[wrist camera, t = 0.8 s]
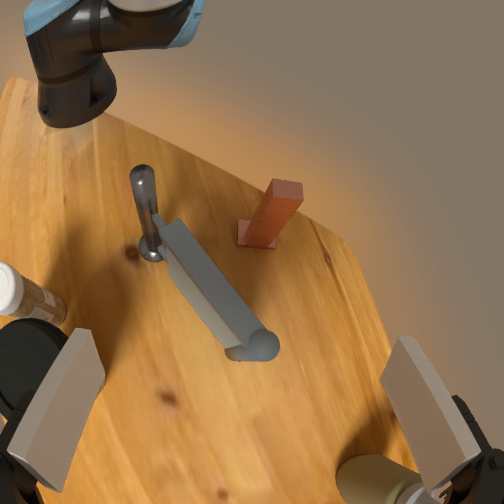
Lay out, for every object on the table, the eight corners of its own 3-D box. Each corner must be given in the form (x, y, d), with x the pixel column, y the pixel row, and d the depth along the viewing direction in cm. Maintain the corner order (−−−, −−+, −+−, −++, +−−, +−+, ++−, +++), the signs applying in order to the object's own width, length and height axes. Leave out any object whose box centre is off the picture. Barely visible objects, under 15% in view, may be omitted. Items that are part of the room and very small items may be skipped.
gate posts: (137, 260, 36) (112, 194, 21) (144, 212, 38) (130, 130, 23) (274, 271, 39) (330, 216, 25) (273, 224, 42) (321, 154, 27)
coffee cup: (78, 316, 32) (21, 287, 18) (136, 374, 31) (105, 383, 17) (34, 370, 28) (-37, 368, 14) (89, 428, 27) (38, 464, 13)
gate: (153, 260, 36) (140, 207, 23) (169, 249, 37) (164, 193, 24) (233, 365, 34) (263, 369, 21) (248, 353, 35) (286, 348, 22)
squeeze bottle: (331, 452, 32) (422, 491, 16) (379, 444, 34) (474, 466, 17) (323, 501, 29) (402, 555, 13) (372, 491, 31) (457, 527, 14)
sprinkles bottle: (67, 294, 32) (17, 260, 20) (66, 331, 31) (12, 313, 18) (37, 293, 31) (-19, 259, 19) (35, 328, 29) (-24, 309, 17)
